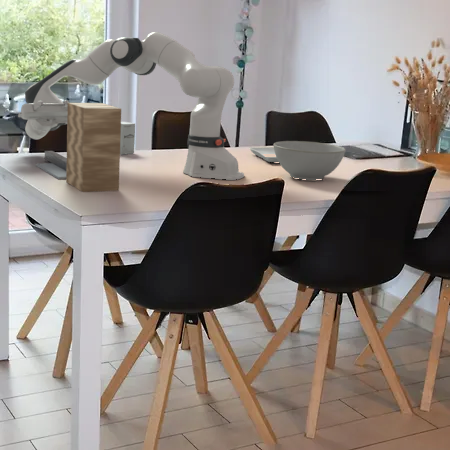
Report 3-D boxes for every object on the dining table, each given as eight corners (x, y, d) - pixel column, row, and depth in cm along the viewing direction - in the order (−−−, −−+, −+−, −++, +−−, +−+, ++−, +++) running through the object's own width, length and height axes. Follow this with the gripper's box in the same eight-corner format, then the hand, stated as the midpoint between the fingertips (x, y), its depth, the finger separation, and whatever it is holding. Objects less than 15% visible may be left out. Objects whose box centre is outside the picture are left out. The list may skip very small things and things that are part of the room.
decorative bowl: (350, 178, 304) (353, 146, 301) (330, 188, 280) (333, 154, 277) (285, 169, 314) (287, 138, 311) (260, 178, 290) (262, 145, 287)
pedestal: (66, 182, 260) (67, 102, 254) (100, 180, 266) (103, 103, 259) (82, 191, 246) (84, 108, 240) (118, 190, 252) (121, 108, 246)
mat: (36, 165, 285) (36, 163, 285) (73, 164, 292) (73, 162, 292) (58, 179, 263) (58, 177, 263) (98, 178, 270) (98, 175, 270)
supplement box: (122, 155, 322) (123, 124, 319) (109, 152, 326) (110, 122, 323) (134, 153, 327) (135, 123, 324) (121, 151, 332) (122, 121, 329)
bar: (44, 158, 296) (44, 151, 295) (52, 158, 297) (52, 150, 297) (70, 173, 271) (70, 164, 270) (78, 173, 272) (79, 164, 271)
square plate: (327, 167, 329) (328, 157, 328) (265, 165, 322) (265, 156, 321) (305, 156, 354) (306, 147, 353) (247, 154, 347) (247, 146, 346)
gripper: (15, 109, 292) (24, 94, 280) (68, 108, 302) (79, 94, 290) (18, 125, 291) (27, 111, 279) (71, 123, 301) (82, 110, 289)
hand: (54, 102), depth 285 cm, fingers open, 8 cm apart
